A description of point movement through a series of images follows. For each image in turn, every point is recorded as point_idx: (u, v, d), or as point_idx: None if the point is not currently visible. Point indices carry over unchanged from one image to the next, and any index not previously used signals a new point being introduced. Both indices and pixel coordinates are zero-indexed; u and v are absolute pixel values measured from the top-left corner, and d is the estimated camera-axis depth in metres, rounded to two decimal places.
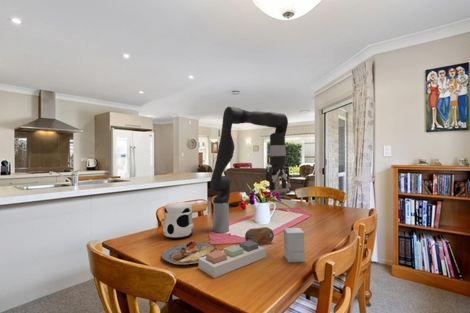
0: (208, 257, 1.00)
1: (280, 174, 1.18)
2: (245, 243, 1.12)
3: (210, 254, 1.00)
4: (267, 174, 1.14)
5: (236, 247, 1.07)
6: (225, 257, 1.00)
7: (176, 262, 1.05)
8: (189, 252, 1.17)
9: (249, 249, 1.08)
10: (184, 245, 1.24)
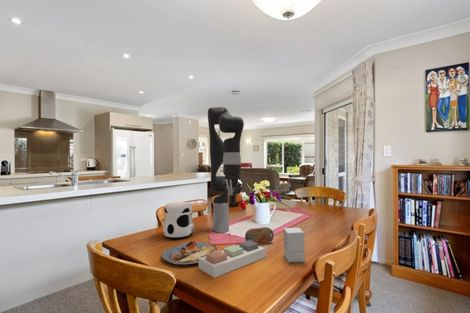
0: (208, 257, 1.00)
1: None
2: (245, 243, 1.12)
3: (210, 254, 1.00)
4: (238, 189, 1.03)
5: (236, 247, 1.07)
6: (225, 257, 1.00)
7: (176, 262, 1.05)
8: (189, 252, 1.17)
9: (249, 249, 1.08)
10: (184, 245, 1.24)
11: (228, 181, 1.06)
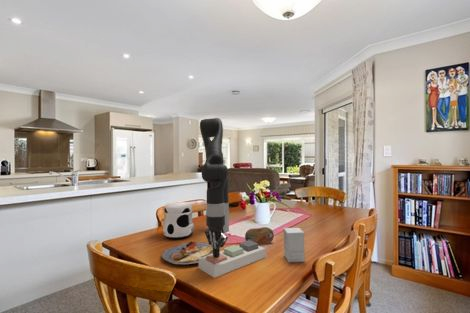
0: (208, 260, 1.00)
1: None
2: (245, 243, 1.12)
3: (210, 257, 1.00)
4: (222, 243, 0.97)
5: (236, 247, 1.07)
6: None
7: (176, 262, 1.05)
8: (189, 252, 1.17)
9: (249, 249, 1.08)
10: (184, 245, 1.24)
11: (211, 233, 1.00)
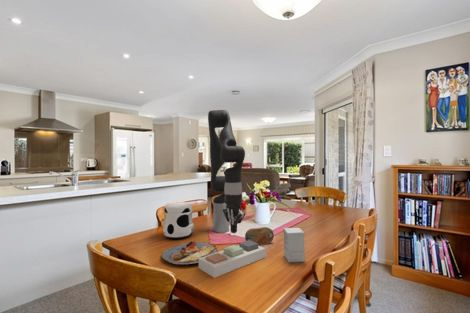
0: (208, 260, 1.00)
1: None
2: (245, 243, 1.12)
3: (210, 257, 1.00)
4: (239, 219, 1.04)
5: (236, 247, 1.07)
6: None
7: (176, 262, 1.05)
8: (189, 252, 1.17)
9: (249, 249, 1.08)
10: (184, 245, 1.24)
11: (229, 210, 1.07)
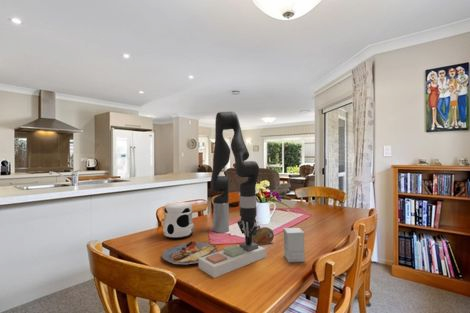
0: (208, 260, 1.00)
1: None
2: (245, 244, 1.12)
3: (210, 257, 1.00)
4: (254, 232, 1.09)
5: (236, 247, 1.07)
6: None
7: (176, 262, 1.05)
8: (189, 252, 1.17)
9: (249, 250, 1.08)
10: (184, 245, 1.24)
11: (244, 223, 1.12)
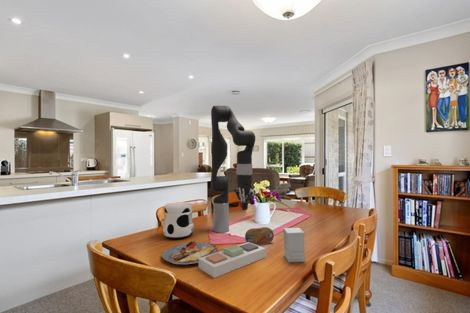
0: (208, 260, 1.00)
1: None
2: (245, 246, 1.12)
3: (210, 257, 1.00)
4: (250, 197, 1.14)
5: (236, 247, 1.07)
6: None
7: (176, 262, 1.05)
8: (189, 252, 1.17)
9: None
10: (184, 245, 1.24)
11: (241, 189, 1.17)
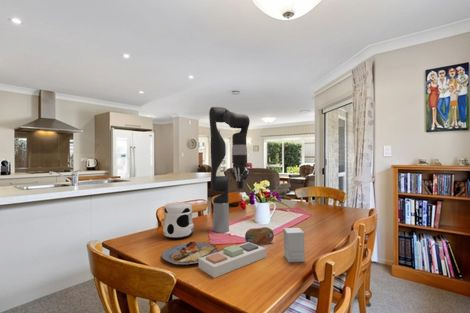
0: (208, 260, 1.00)
1: None
2: (245, 246, 1.12)
3: (210, 257, 1.00)
4: (245, 176, 1.22)
5: (236, 247, 1.07)
6: None
7: (176, 262, 1.05)
8: (189, 252, 1.17)
9: None
10: (184, 245, 1.24)
11: (236, 169, 1.25)
